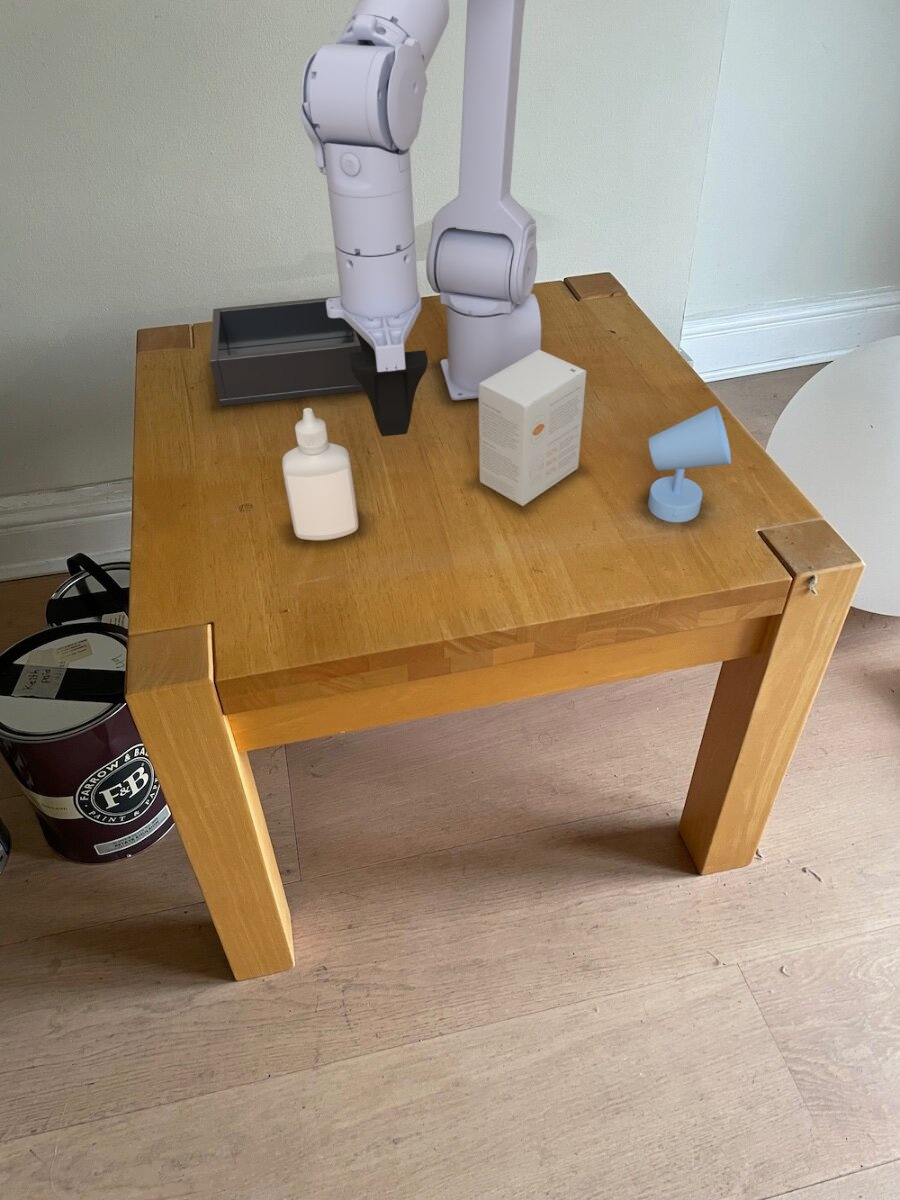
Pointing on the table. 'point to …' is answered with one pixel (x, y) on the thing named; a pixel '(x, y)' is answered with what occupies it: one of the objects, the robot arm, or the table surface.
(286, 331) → the open rectangular box
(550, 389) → the small box
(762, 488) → the table surface
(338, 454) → the eye dropper bottle
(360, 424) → the table surface
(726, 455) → the spotlight
